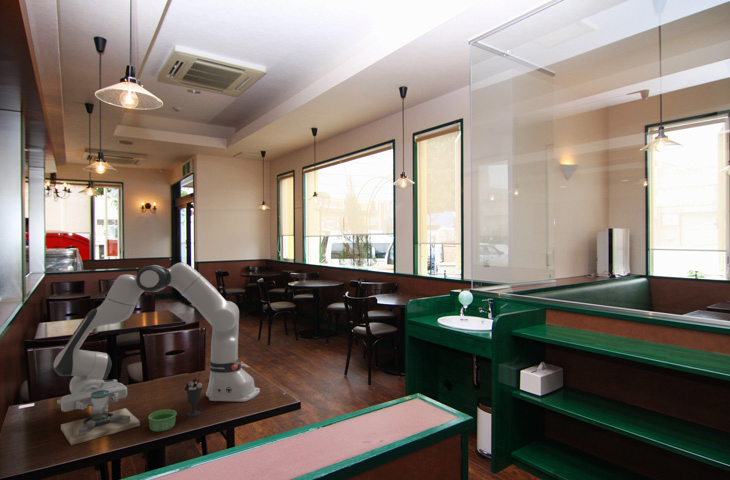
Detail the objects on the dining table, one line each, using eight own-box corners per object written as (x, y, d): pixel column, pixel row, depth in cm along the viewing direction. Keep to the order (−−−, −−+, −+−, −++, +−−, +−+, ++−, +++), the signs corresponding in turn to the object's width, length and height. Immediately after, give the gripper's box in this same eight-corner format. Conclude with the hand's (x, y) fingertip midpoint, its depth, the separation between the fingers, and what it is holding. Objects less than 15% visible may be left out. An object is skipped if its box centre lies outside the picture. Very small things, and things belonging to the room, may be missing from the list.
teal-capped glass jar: (111, 418, 145) (112, 390, 145) (99, 425, 140) (99, 396, 140) (99, 417, 146) (100, 389, 146) (86, 423, 141) (87, 394, 141)
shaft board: (125, 412, 154) (125, 402, 154) (139, 425, 143) (140, 415, 143) (60, 428, 140) (61, 418, 140) (71, 445, 129) (71, 434, 129)
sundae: (206, 411, 156) (207, 372, 156) (194, 418, 150) (195, 378, 150) (193, 409, 158) (194, 370, 158) (180, 415, 152) (181, 376, 152)
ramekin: (156, 420, 148) (157, 408, 148) (181, 421, 148) (181, 409, 148) (142, 432, 139) (142, 419, 139) (168, 433, 139) (168, 420, 139)
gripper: (56, 391, 144) (64, 402, 135) (120, 378, 159) (132, 387, 150) (55, 409, 144) (64, 421, 135) (120, 394, 159) (131, 404, 150)
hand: (100, 403), depth 142 cm, fingers open, 8 cm apart
